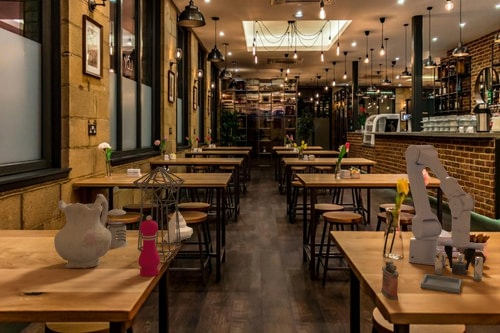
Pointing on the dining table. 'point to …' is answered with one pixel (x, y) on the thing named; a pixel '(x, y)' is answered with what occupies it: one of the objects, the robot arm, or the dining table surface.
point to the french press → (115, 227)
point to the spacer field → (460, 257)
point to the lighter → (390, 281)
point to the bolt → (478, 254)
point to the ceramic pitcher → (83, 233)
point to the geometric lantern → (161, 206)
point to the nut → (458, 268)
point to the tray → (441, 283)
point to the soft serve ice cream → (184, 230)
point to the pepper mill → (149, 249)
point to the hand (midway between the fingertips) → (459, 268)
